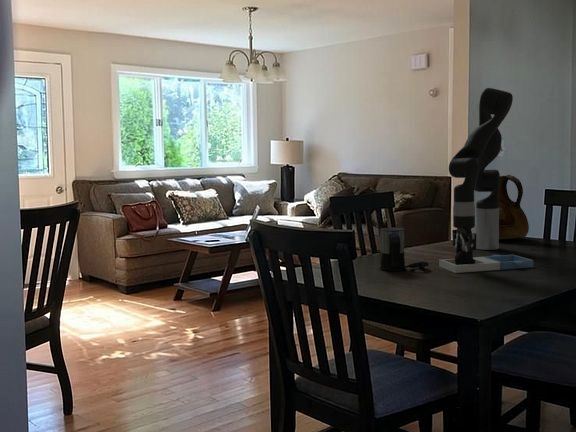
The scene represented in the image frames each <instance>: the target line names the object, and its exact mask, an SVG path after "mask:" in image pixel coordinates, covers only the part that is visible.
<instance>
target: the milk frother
mask: <svg viewBox="0 0 576 432" xmlns="http://www.w3.org/2000/svg"><path fill="white" fill-rule="evenodd" d="M405 230H406V228H404V227H381V228H379V237H380V238H379V240H380V241H379V242H380V244H379V245H380V246H379V247H380V248H379V249H380V268H379V269H380V270H382V271H389V272H392V271H395V272H396V271H397V272H398V271H404V270H406V269H407V268H409V269H417V268H419V270H423V269H425V267H428V266H429V265H430V264H429V262H427V261H418V262H413V263H410V264H408V265H405V264H406V263H405V262H406V261H405Z"/></svg>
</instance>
